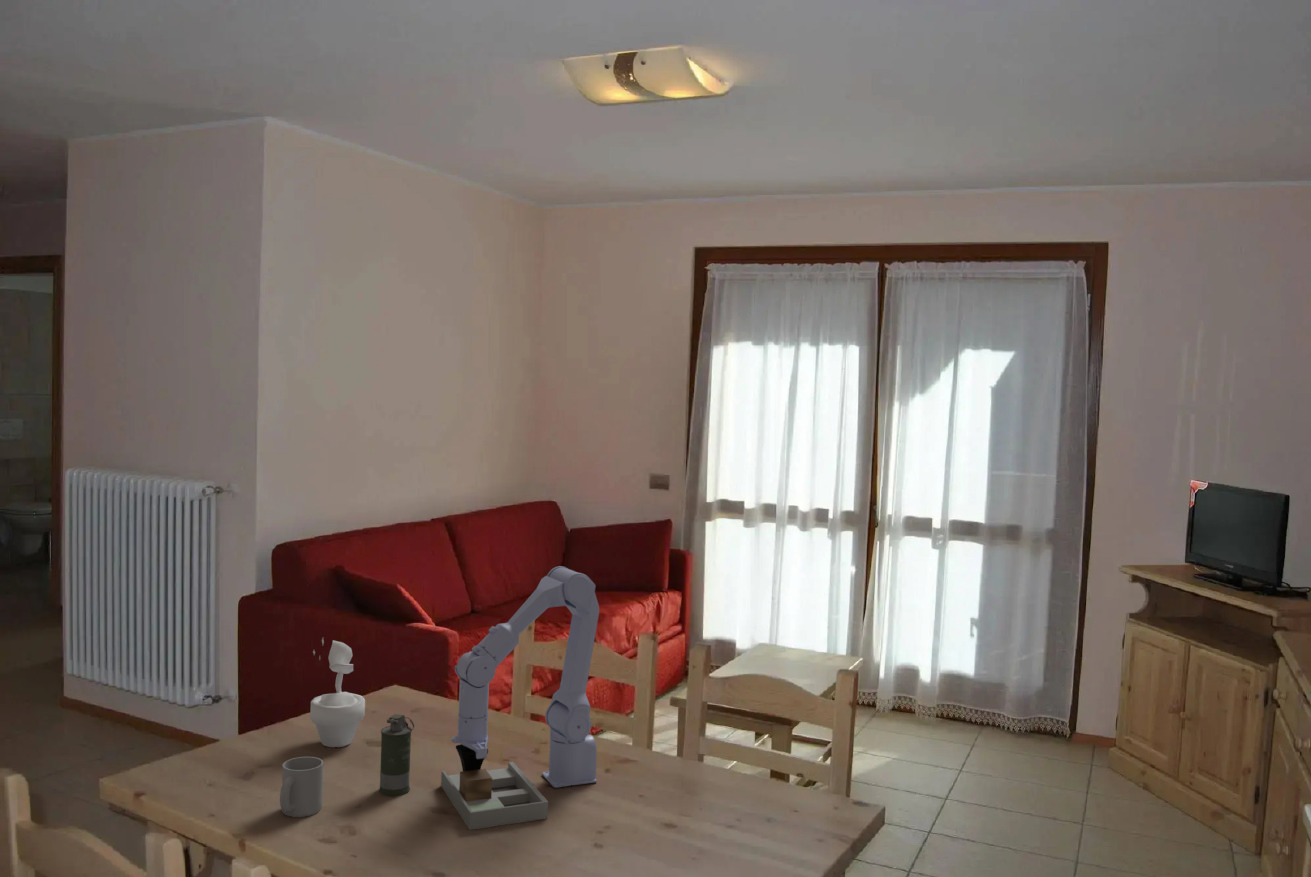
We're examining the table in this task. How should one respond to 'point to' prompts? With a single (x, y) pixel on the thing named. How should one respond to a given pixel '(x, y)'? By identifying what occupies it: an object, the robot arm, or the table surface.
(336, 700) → the potted plant
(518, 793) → the tray
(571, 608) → the robot arm
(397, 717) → the grenade
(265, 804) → the table surface
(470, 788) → the block
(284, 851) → the table surface
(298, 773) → the cup
